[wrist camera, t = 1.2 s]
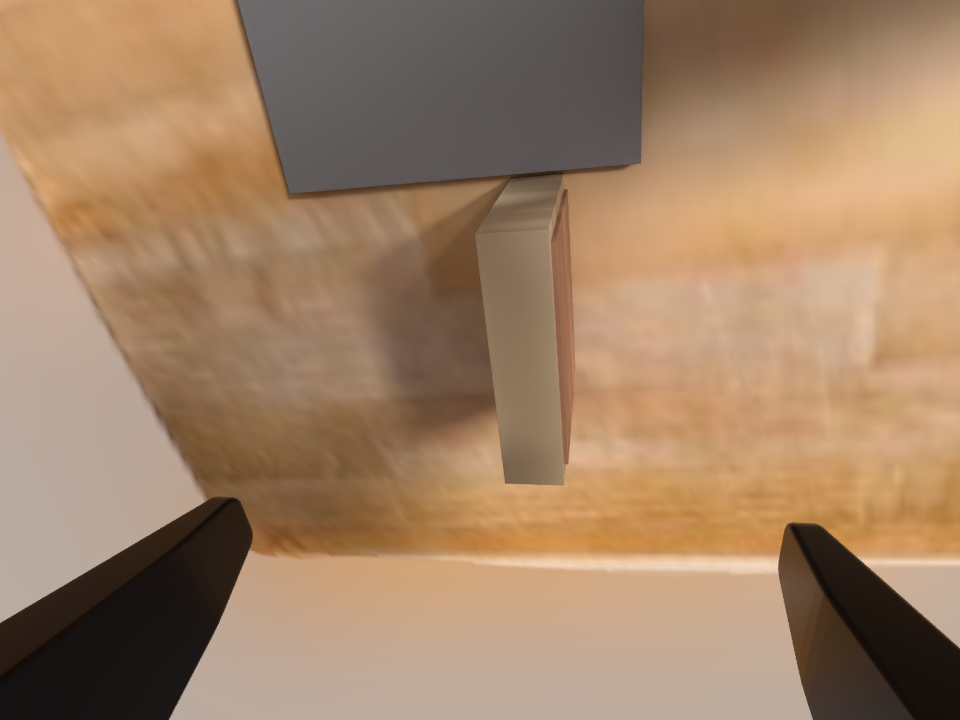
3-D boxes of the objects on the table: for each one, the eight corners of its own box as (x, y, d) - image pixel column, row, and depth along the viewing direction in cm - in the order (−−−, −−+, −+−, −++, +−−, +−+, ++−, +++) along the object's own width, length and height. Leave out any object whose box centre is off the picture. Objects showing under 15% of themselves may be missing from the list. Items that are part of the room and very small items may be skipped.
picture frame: (567, 172, 17) (553, 229, 12) (576, 373, 20) (568, 485, 15) (511, 177, 18) (474, 233, 12) (528, 374, 21) (505, 483, 16)
